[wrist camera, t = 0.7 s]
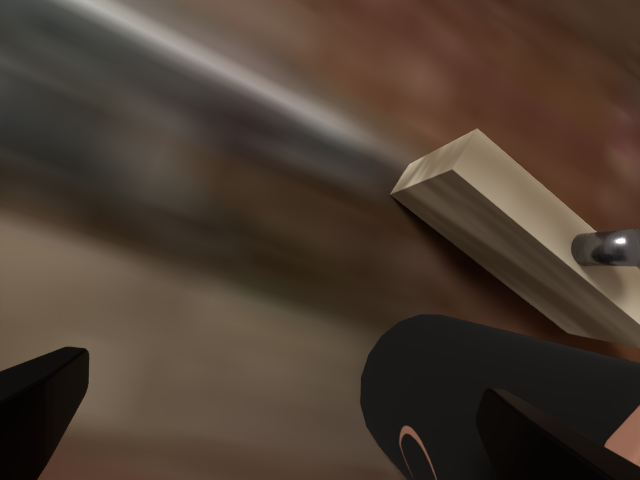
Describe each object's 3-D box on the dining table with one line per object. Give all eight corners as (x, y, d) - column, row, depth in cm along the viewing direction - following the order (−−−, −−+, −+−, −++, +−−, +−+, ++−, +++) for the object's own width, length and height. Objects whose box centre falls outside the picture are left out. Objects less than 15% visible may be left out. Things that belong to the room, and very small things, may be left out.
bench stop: (567, 333, 32) (739, 368, 21) (389, 194, 28) (489, 154, 18) (581, 303, 32) (756, 323, 22) (409, 164, 29) (517, 107, 18)
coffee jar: (324, 386, 26) (522, 629, 9) (422, 282, 29) (728, 314, 11) (417, 486, 28) (747, 866, 10) (503, 379, 30) (888, 539, 13)
